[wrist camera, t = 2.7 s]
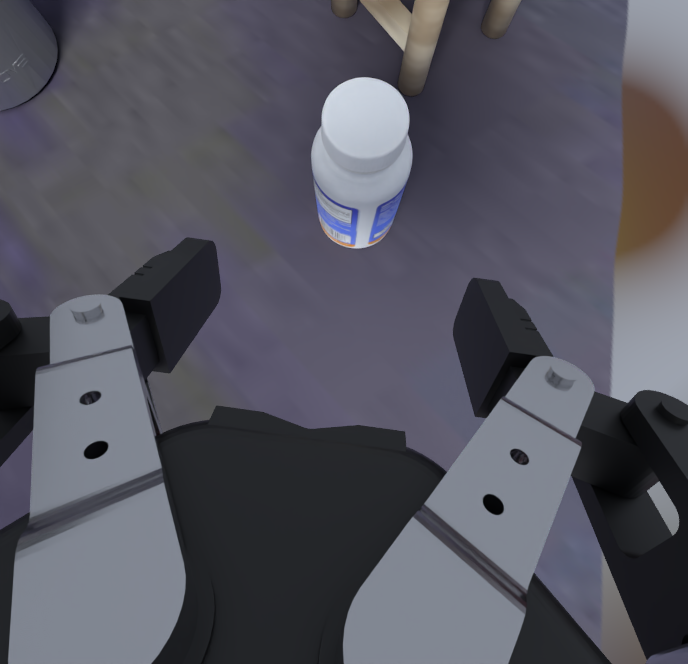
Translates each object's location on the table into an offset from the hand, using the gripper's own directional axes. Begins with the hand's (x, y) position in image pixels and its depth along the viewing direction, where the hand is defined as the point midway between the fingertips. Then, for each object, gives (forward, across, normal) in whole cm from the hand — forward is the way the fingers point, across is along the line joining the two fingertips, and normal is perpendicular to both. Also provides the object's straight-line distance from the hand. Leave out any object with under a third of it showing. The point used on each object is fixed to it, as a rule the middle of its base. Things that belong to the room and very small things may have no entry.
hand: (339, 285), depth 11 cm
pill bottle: (+15, 0, +3) cm, 16 cm away
